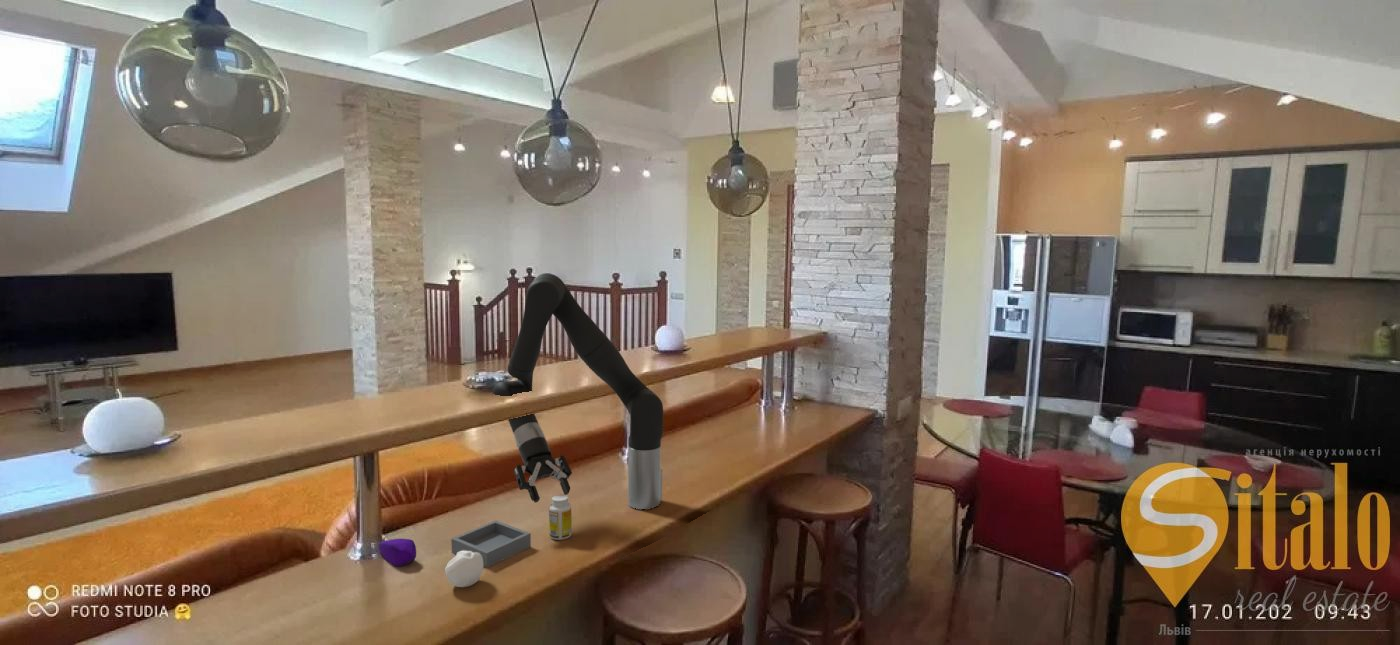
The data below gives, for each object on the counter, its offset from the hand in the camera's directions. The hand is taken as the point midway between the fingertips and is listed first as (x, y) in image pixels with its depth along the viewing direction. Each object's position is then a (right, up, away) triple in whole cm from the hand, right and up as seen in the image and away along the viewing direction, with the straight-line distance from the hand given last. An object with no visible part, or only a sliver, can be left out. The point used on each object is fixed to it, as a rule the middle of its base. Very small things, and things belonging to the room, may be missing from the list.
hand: (552, 497), depth 167 cm
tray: (-13, -10, -10) cm, 19 cm away
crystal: (-33, -11, -15) cm, 38 cm away
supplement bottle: (+2, -10, -2) cm, 10 cm away
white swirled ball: (-13, -12, -26) cm, 32 cm away
